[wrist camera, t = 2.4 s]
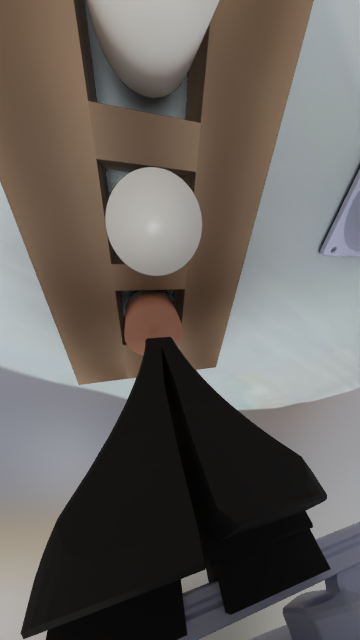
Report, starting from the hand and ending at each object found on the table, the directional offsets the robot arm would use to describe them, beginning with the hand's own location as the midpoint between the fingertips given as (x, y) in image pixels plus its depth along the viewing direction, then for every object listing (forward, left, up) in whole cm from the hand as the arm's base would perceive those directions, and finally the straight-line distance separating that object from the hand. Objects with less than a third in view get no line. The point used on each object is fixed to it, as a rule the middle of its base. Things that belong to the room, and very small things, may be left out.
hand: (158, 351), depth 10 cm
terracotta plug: (0, 0, -4) cm, 4 cm away
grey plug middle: (0, -6, -3) cm, 7 cm away
